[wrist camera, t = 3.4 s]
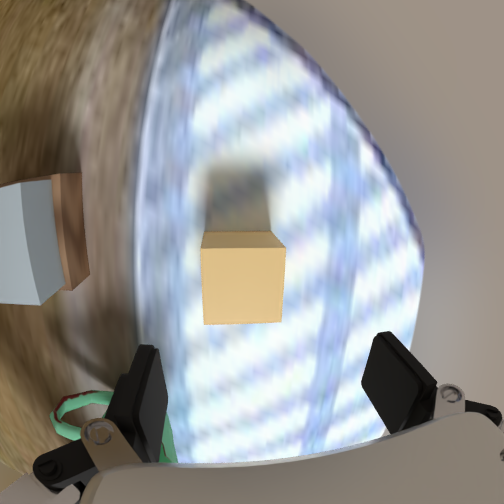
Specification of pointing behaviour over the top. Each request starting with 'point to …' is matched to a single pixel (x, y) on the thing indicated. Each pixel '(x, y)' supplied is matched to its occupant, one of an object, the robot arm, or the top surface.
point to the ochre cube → (242, 277)
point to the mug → (103, 398)
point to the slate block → (28, 244)
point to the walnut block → (68, 225)
